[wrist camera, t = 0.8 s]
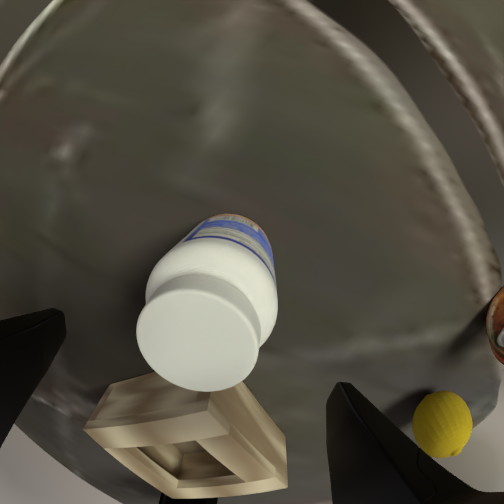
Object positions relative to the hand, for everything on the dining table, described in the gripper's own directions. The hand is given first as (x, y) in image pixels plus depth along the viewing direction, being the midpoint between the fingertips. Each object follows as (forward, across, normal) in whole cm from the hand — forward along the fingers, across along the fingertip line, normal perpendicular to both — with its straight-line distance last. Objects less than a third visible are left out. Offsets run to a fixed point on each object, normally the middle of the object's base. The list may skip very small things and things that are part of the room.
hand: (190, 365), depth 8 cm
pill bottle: (+10, 0, 0) cm, 11 cm away
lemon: (+11, -21, +10) cm, 25 cm away
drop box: (+10, 0, +16) cm, 19 cm away
